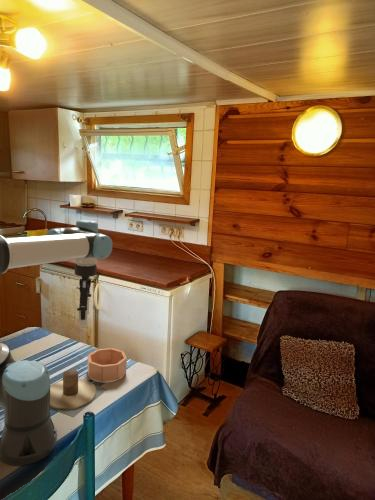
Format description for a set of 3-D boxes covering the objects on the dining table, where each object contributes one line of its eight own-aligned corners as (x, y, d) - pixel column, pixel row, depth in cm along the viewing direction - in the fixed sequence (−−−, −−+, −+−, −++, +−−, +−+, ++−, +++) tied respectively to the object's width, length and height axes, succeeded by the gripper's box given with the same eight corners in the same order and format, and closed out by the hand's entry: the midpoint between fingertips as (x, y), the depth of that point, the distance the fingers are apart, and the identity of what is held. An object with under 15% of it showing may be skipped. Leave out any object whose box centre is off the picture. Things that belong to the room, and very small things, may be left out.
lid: (73, 415, 117) (73, 392, 116) (33, 400, 124) (32, 378, 122) (105, 389, 132) (106, 368, 131) (68, 376, 139) (68, 356, 137)
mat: (73, 418, 117) (73, 417, 116) (30, 401, 124) (30, 400, 123) (107, 390, 133) (107, 389, 133) (68, 376, 140) (68, 375, 140)
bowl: (111, 387, 135) (111, 369, 133) (80, 376, 140) (80, 359, 139) (131, 370, 147) (132, 353, 146) (103, 361, 153) (103, 345, 151)
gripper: (95, 272, 120) (93, 334, 124) (97, 257, 144) (95, 309, 148) (71, 271, 119) (69, 334, 122) (77, 256, 143) (76, 309, 146)
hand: (84, 320), depth 135 cm, fingers open, 13 cm apart
